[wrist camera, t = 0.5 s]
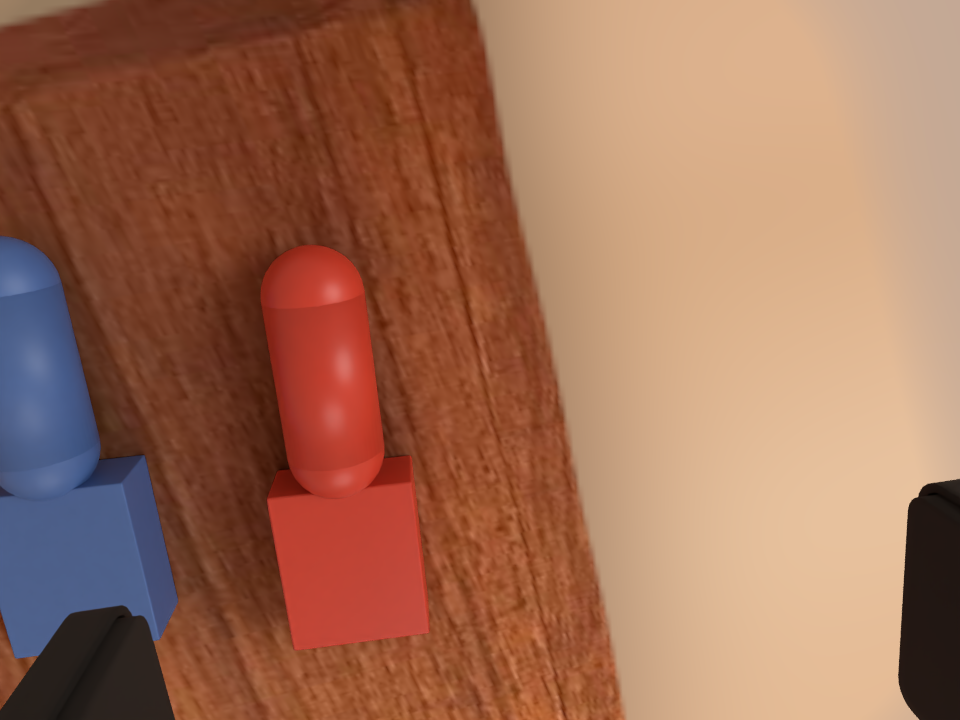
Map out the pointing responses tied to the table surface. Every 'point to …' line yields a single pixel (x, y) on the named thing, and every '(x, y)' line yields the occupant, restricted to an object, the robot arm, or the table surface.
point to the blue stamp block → (64, 477)
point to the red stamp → (337, 464)
